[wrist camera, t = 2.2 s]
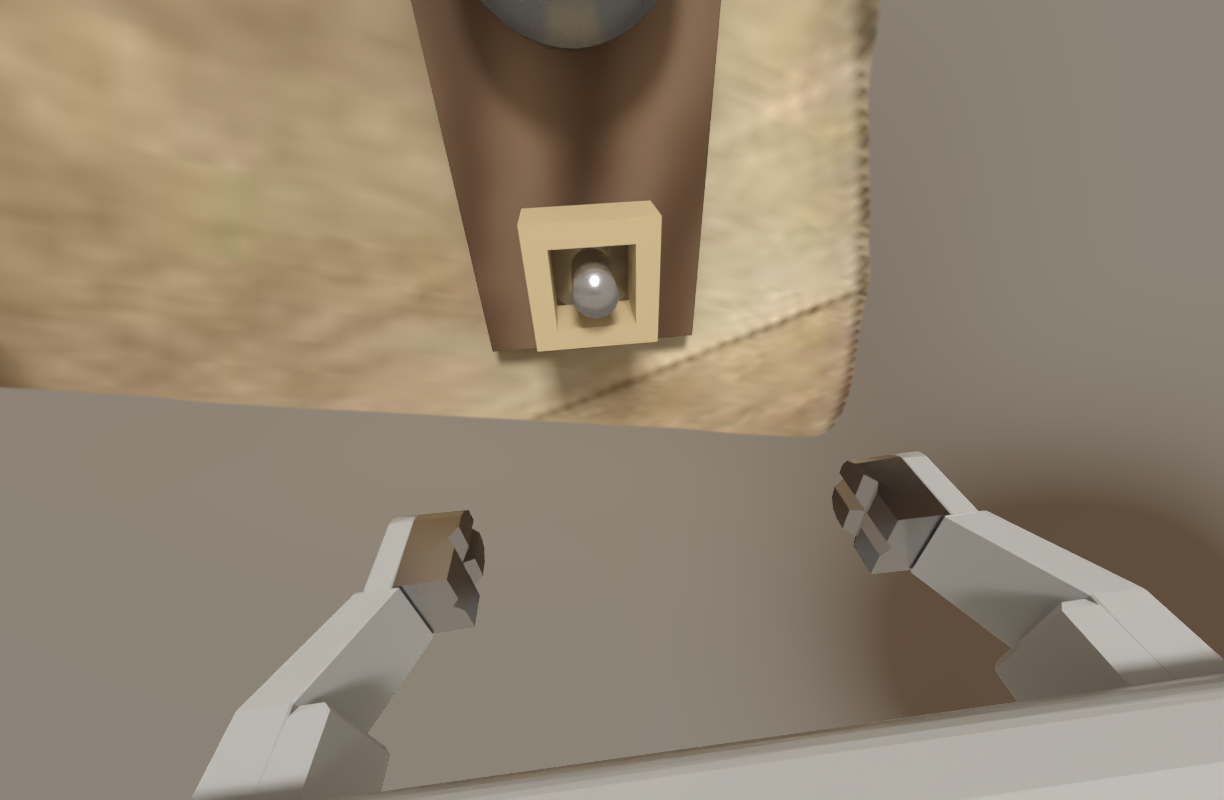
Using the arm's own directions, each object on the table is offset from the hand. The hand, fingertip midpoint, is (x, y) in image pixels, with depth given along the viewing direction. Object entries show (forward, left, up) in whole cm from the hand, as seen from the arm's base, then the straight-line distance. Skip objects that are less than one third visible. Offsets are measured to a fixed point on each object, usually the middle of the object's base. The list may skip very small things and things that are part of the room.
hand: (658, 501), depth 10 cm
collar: (0, -1, -18) cm, 18 cm away
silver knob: (0, -1, -21) cm, 21 cm away
